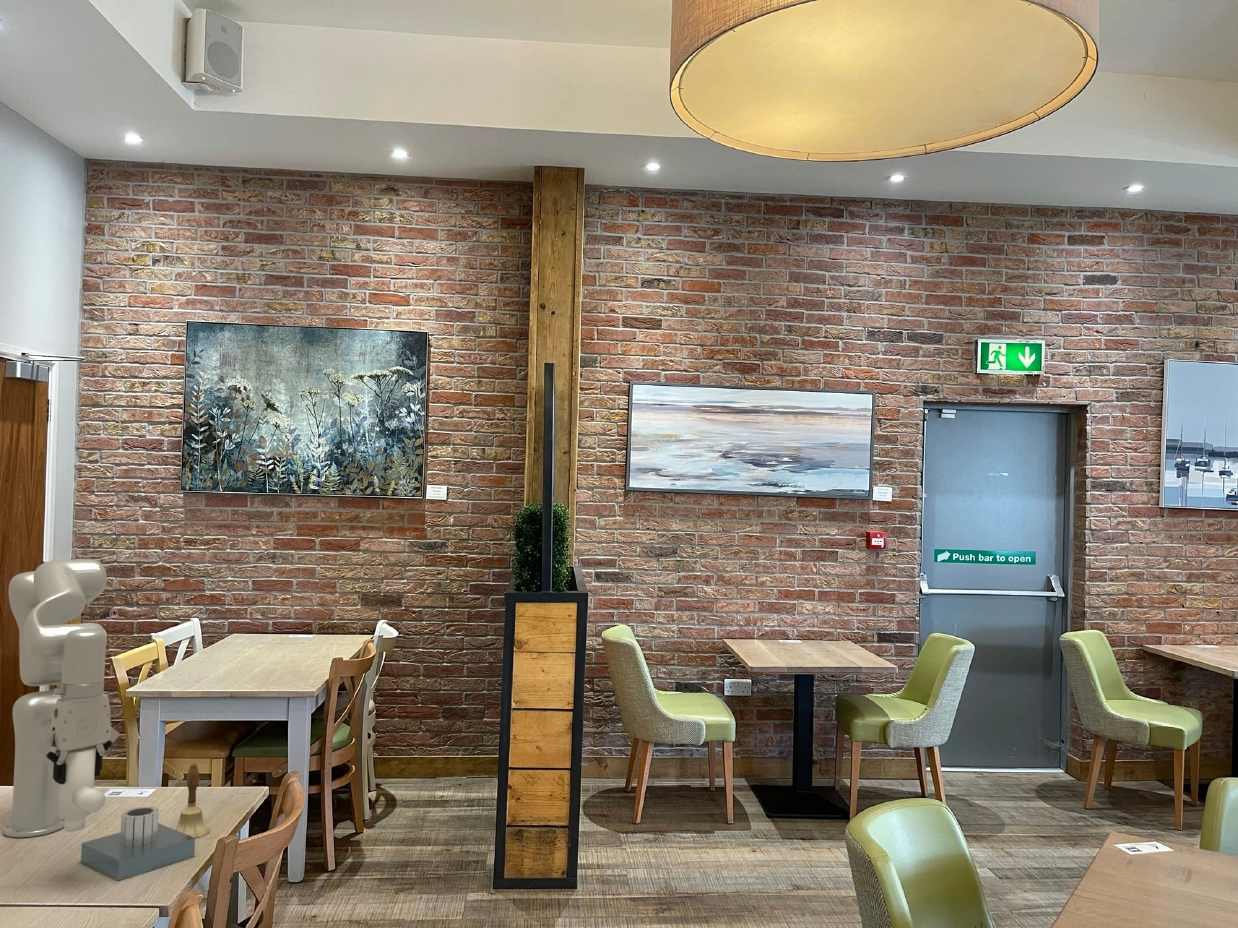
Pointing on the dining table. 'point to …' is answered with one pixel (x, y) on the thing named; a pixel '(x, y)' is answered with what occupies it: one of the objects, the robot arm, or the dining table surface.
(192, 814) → the hand bell
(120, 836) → the vent box
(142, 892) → the dining table surface
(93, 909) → the dining table surface
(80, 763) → the white tall branched piece
